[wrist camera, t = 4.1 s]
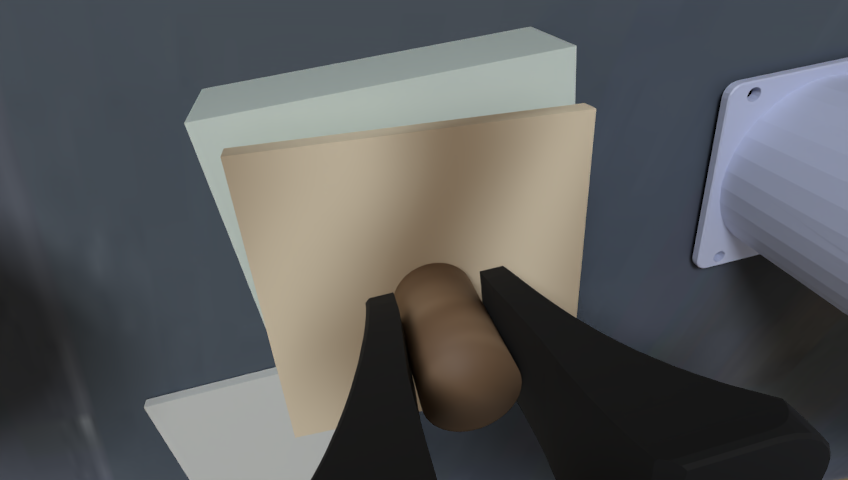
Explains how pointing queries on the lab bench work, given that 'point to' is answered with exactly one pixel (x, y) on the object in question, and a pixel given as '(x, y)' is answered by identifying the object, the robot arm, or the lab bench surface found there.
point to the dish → (378, 99)
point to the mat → (236, 431)
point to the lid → (411, 249)
